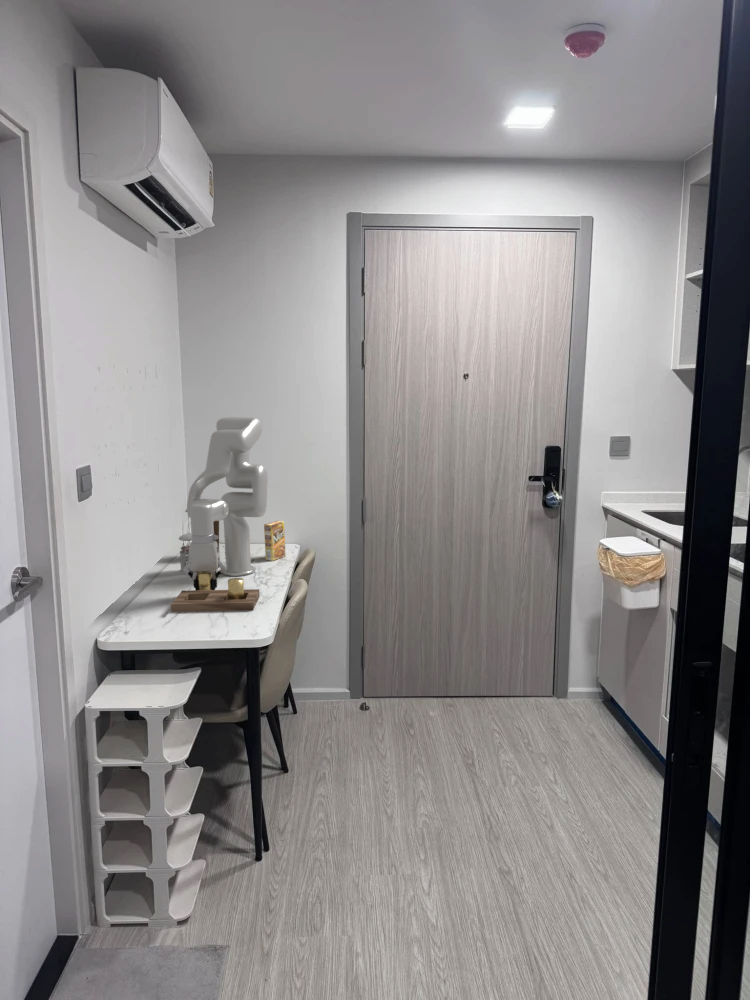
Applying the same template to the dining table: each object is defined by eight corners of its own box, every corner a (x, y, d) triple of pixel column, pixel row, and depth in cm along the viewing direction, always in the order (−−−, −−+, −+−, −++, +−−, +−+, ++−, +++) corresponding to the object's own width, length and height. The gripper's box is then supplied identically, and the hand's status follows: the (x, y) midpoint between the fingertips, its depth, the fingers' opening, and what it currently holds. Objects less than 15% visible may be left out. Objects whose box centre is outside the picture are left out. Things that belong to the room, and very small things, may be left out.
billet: (200, 592, 231) (199, 570, 230) (214, 592, 231) (213, 570, 230) (197, 597, 226) (195, 574, 225) (211, 596, 226) (210, 574, 225)
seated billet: (230, 601, 218) (229, 577, 217) (245, 600, 218) (244, 577, 217) (227, 606, 213) (226, 582, 212) (243, 605, 214) (242, 582, 212)
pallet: (182, 600, 222) (182, 590, 222) (259, 599, 223) (259, 589, 223) (171, 614, 209) (170, 604, 208) (253, 613, 209) (253, 602, 209)
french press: (207, 568, 262) (204, 506, 258) (197, 576, 251) (193, 512, 246) (184, 567, 263) (180, 506, 259) (172, 576, 252) (168, 512, 247)
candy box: (273, 561, 271) (271, 525, 269) (264, 560, 274) (263, 524, 271) (286, 556, 279) (284, 521, 276) (278, 555, 281) (276, 520, 278)
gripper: (229, 536, 229) (232, 586, 232) (180, 536, 229) (183, 587, 232) (225, 541, 222) (228, 592, 225) (175, 541, 221) (178, 593, 224)
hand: (205, 589), depth 228 cm, fingers closed on billet, 5 cm apart
